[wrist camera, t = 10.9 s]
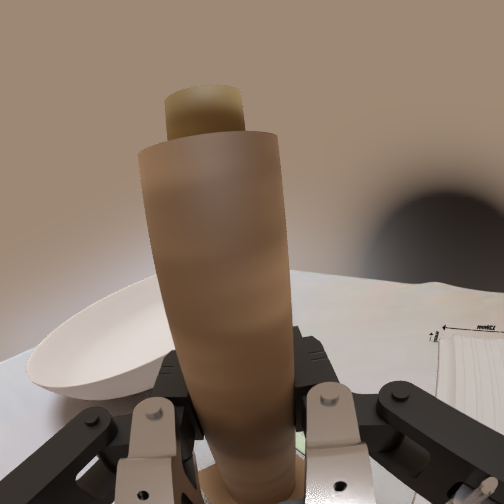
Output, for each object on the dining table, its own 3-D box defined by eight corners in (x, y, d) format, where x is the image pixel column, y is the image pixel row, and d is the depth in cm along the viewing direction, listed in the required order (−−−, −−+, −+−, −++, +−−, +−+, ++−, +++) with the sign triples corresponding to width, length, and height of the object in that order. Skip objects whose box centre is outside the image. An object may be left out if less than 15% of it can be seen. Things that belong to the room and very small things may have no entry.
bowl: (209, 289, 43) (202, 251, 41) (300, 302, 35) (298, 257, 34) (36, 394, 18) (10, 343, 17) (115, 487, 11) (67, 432, 9)
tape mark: (297, 433, 16) (297, 432, 16) (365, 478, 11) (365, 477, 11) (286, 441, 15) (286, 439, 15) (354, 489, 10) (354, 488, 10)
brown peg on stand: (273, 458, 14) (235, 122, 9) (334, 506, 9) (369, 79, 5) (205, 495, 11) (89, 132, 6) (260, 556, 7) (120, 26, 2)
